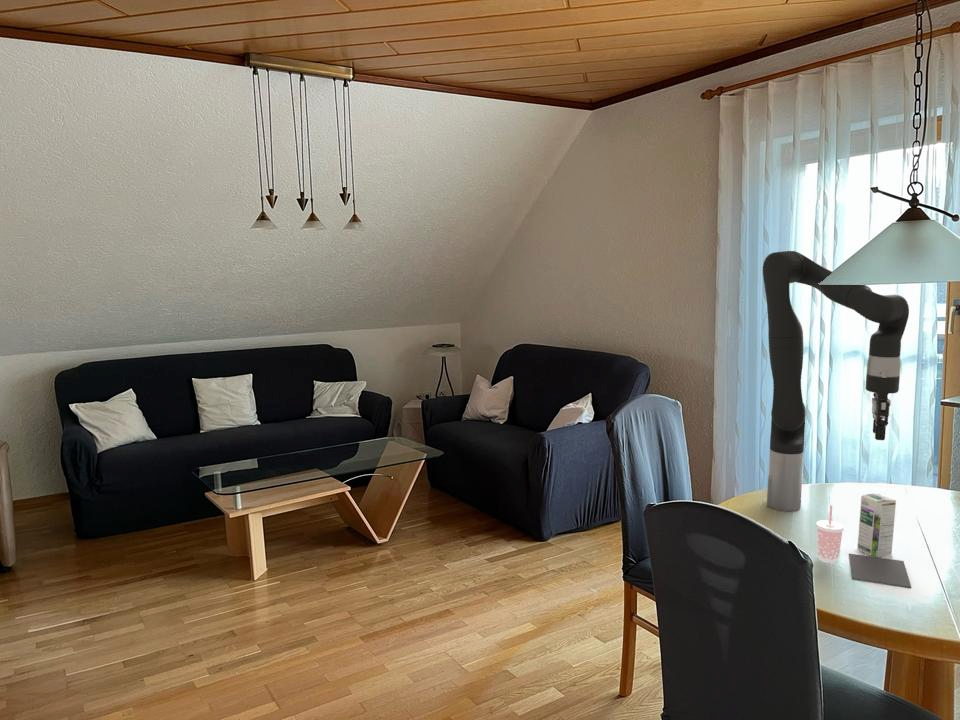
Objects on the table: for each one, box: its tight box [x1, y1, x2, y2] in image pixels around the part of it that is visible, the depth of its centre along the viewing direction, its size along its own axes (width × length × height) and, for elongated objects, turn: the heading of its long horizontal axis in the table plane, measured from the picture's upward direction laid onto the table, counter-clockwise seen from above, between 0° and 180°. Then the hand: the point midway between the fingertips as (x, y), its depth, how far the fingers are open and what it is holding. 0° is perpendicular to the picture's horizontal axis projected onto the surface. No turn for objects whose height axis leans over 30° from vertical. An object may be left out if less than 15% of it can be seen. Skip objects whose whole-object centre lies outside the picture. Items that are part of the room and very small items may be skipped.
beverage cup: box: [816, 504, 845, 564], centre depth 181 cm, size 6×6×14 cm
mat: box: [848, 553, 912, 589], centre depth 176 cm, size 12×15×1 cm
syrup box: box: [856, 493, 897, 558], centre depth 185 cm, size 6×6×14 cm
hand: (878, 436), depth 191 cm, fingers open, 6 cm apart
